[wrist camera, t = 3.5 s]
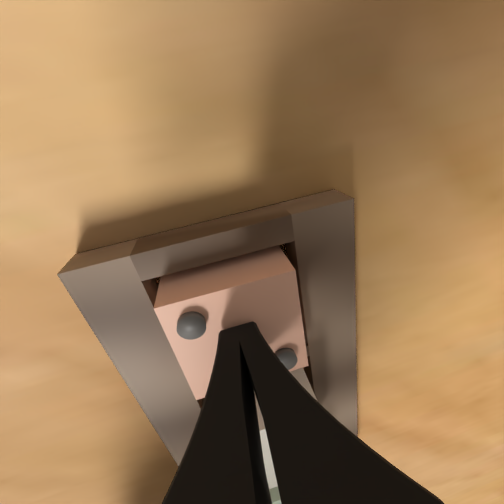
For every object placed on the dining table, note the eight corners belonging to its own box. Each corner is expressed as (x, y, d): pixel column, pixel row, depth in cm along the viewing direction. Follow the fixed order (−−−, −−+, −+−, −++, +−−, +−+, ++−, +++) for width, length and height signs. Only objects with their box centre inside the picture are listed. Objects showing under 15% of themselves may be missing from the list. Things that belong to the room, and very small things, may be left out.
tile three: (291, 328, 14) (311, 371, 11) (195, 356, 13) (196, 407, 11) (276, 242, 12) (298, 274, 9) (161, 273, 11) (152, 314, 9)
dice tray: (347, 447, 21) (357, 470, 20) (211, 493, 20) (212, 520, 19) (334, 189, 12) (354, 198, 10) (75, 254, 11) (57, 274, 9)
